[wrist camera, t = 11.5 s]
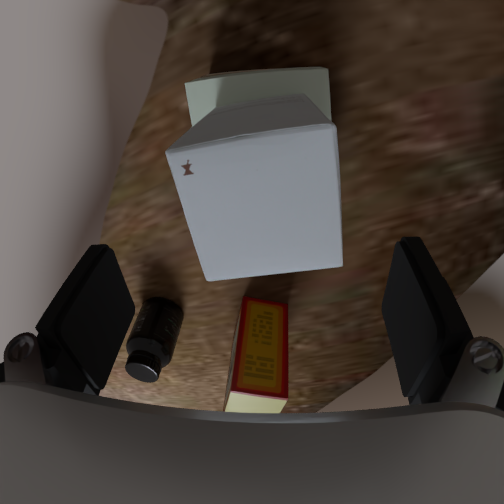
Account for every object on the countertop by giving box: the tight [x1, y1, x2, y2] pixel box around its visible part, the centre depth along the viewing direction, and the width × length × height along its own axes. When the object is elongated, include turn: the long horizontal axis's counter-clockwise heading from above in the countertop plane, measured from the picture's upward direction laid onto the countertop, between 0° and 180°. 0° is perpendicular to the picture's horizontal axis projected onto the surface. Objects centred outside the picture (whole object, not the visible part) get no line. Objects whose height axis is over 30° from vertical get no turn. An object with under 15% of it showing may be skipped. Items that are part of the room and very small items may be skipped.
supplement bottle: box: [125, 297, 183, 383], centre depth 45 cm, size 7×7×12 cm
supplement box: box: [165, 93, 343, 281], centre depth 20 cm, size 7×7×13 cm
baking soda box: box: [223, 296, 288, 413], centre depth 43 cm, size 10×6×16 cm
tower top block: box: [185, 67, 331, 127], centre depth 27 cm, size 11×11×4 cm
